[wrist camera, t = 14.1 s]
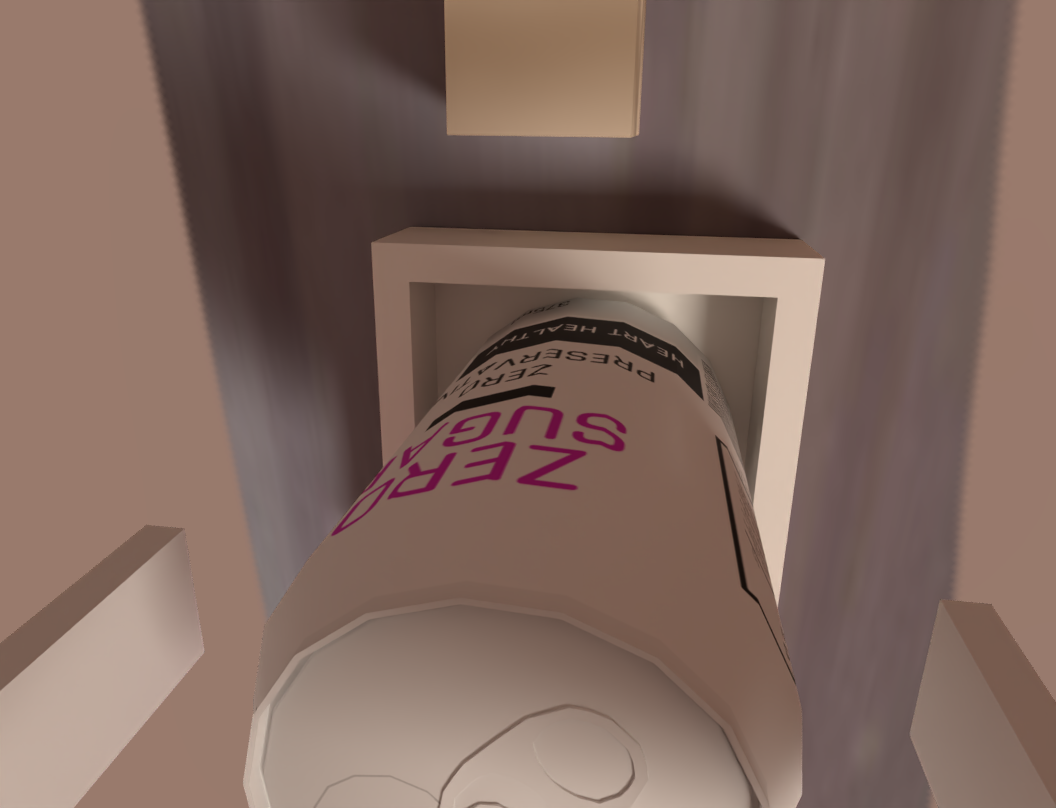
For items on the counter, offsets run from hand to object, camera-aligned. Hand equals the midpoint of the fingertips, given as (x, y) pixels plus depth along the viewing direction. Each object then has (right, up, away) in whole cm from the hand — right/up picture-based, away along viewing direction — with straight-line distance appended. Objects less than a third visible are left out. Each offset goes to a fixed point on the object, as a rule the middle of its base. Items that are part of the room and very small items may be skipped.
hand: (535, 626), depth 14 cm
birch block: (+1, +14, +8) cm, 16 cm away
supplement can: (+2, +3, +11) cm, 11 cm away
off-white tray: (+2, +4, +11) cm, 12 cm away
